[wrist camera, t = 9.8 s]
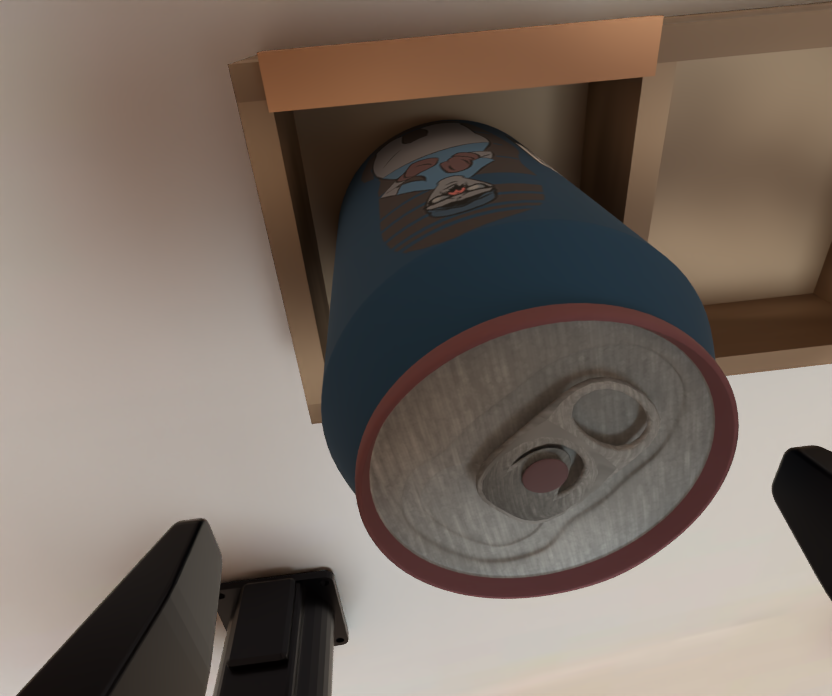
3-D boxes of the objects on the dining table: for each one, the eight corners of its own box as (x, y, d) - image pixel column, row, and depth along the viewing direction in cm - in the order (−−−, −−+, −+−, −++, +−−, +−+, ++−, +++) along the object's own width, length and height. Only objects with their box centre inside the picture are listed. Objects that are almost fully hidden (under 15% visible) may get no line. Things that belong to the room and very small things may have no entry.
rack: (1028, 277, 23) (1187, 338, 18) (321, 356, 22) (311, 440, 17) (1214, -41, 17) (1510, -62, 12) (258, 46, 16) (219, 56, 11)
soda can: (449, 344, 21) (536, 660, 10) (298, 238, 18) (217, 527, 8) (583, 207, 18) (867, 444, 8) (432, 59, 15) (572, 136, 5)
